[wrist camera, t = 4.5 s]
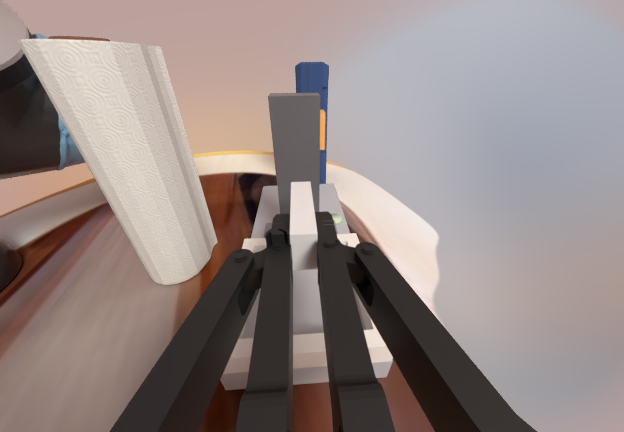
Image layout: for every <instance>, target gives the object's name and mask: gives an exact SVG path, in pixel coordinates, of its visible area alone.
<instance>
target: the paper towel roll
mask: <svg viewBox="0 0 624 432" xmlns="http://www.w3.org/2000/svg"><path fill="white" fill-rule="evenodd" d="M18 43H19V45H20V47H21V48H22V50H23V52H24V54H25V55H26V57H27V59H28V61H29V63H30V64H31V66H32V68H33V70H34V71H35V73H36V75H37V77H38V78H39V80H40V82H41V84H42V86H43V87H44V89H45V91H46V93H47V94H48V96H49V98H50V100H51V102H52V103H53V105H54V107H55V109H56V110H57V112H58V114H59V116H60V118H61V119H62V121H63V123H64V125H65V126H66V128H67V130H68V132H69V134H70V135H71V137H72V139H73V141H74V142H75V144H76V146H77V148H78V149H79V151H80V153H81V155H82V157H83V158H84V160H85V162H86V164H87V165H88V167H89V169H90V171H91V173H92V174H93V176H94V178H95V180H96V181H97V183H98V185H99V187H100V189H101V190H102V192H103V194H104V196H105V197H106V199H107V201H108V203H109V205H110V206H111V208H112V210H113V212H114V213H115V215H116V217H117V219H118V220H119V222H120V224H121V226H122V228H123V229H124V231H125V233H126V235H127V236H128V238H129V240H130V242H131V244H132V245H133V247H134V249H135V251H136V252H137V254H138V256H139V258H140V260H141V261H142V263H143V265H144V267H145V268H146V270H147V272H148V274H149V276H150V277H151V278H152V279H153V280H154V281H155V282H156V283H159V284H163V285H172V284H178V283H181V282H184V281H187V280H189V279H191V278H192V277H194V276H195V275H197V274H198V273H199V272H200V271H201V270H202V268H203V267H204V266H205V265H206V263H207V262H208V261H209V260H210V258H211V253H212V249H213V247H214V245H215V244H216V243H217V238H216V235H215V231H214V228H213V224H212V221H211V218H210V214H209V211H208V207H207V204H206V200H205V197H204V194H203V190H202V187H201V183H200V180H199V177H198V173H197V170H196V166H195V163H194V159H193V156H192V153H191V149H190V146H189V142H188V139H187V136H186V132H185V129H184V125H183V122H182V119H181V115H180V112H179V109H178V105H177V101H176V98H175V95H174V91H173V88H172V84H171V81H170V78H169V74H168V71H167V67H166V64H165V60H164V57H163V54H162V51H161V48H160V47H156V46H147V45H141V44H133V43H132V44H131V43H122V42H110V40H108V39H102V38H92V37H72V36H51V37H48V39H20V40H18Z"/></svg>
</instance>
